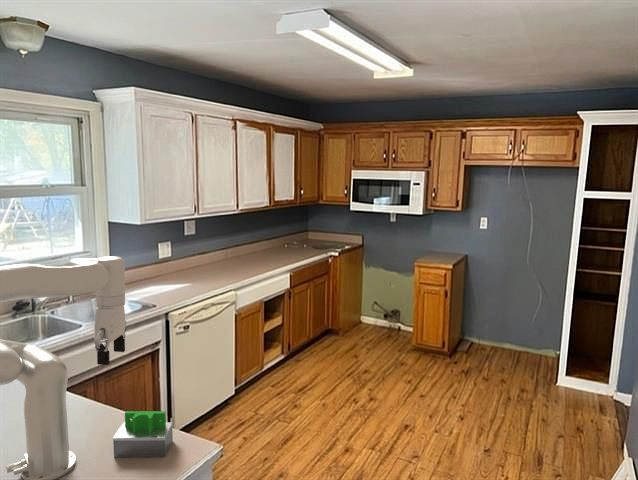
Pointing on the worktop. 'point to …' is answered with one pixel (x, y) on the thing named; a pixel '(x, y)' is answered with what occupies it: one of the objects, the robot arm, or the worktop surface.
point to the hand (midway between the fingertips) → (111, 357)
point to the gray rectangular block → (142, 442)
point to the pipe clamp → (145, 420)
